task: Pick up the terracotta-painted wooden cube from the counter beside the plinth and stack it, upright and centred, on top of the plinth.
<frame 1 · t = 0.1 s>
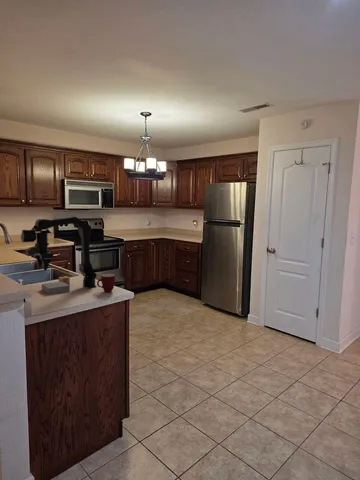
hand: (42, 268, 177), 15 cm above the countertop, tool pointing down, fingers open, 9 cm apart
mug: (106, 292, 188), on the countertop
plinth: (55, 290, 187), on the countertop
cube: (64, 285, 200), on the countertop
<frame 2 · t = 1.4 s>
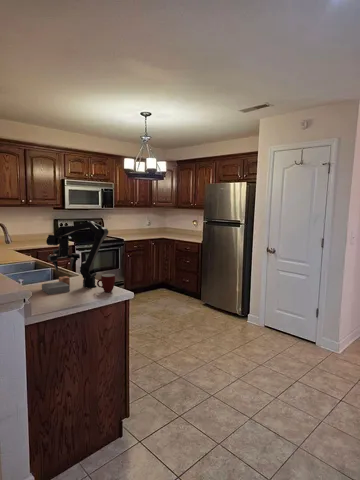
hand: (64, 270, 199), 9 cm above the countertop, tool pointing down, fingers open, 9 cm apart
nothing on the countertop moved.
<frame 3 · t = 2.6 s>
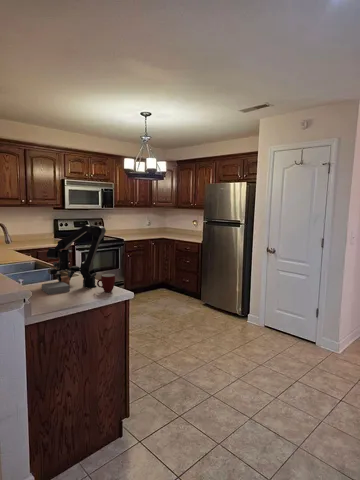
hand: (64, 283, 200), 1 cm above the countertop, tool pointing down, fingers closed on cube, 5 cm apart
cube: (64, 284, 200), on the countertop, touching gripper
everything else where it was.
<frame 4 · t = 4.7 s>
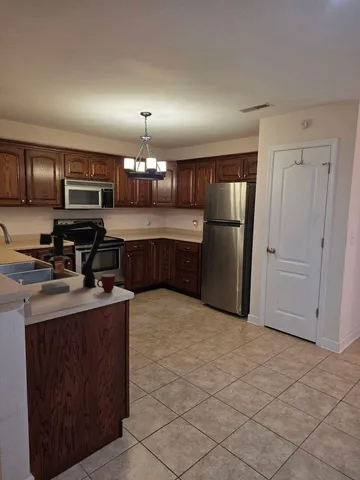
hand: (58, 270, 191), 11 cm above the countertop, tool pointing down, fingers closed on cube, 5 cm apart
cube: (58, 272, 191), point 10 cm above the countertop, touching gripper
everything else where it was.
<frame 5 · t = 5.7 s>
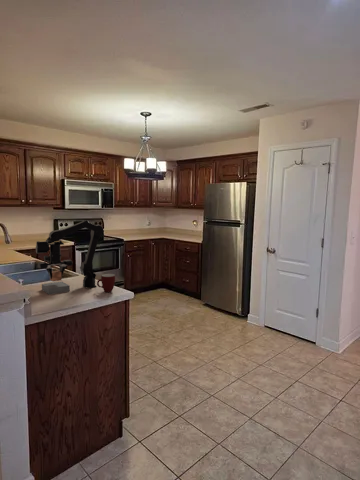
hand: (55, 278, 186), 7 cm above the countertop, tool pointing down, fingers closed on cube, 5 cm apart
cube: (55, 280, 186), point 6 cm above the countertop, touching gripper
everything else where it was.
when the fingers open (6 cm above the countertop, at t = 6.6 s): cube drops 2 cm, resting on plinth.
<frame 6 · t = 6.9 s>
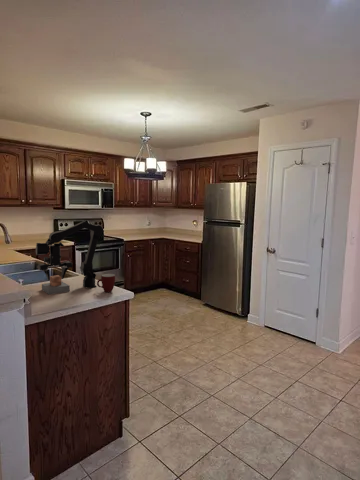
hand: (55, 279, 186), 6 cm above the countertop, tool pointing down, fingers open, 8 cm apart
cube: (55, 284, 186), point 3 cm above the countertop, touching plinth
everything else where it was.
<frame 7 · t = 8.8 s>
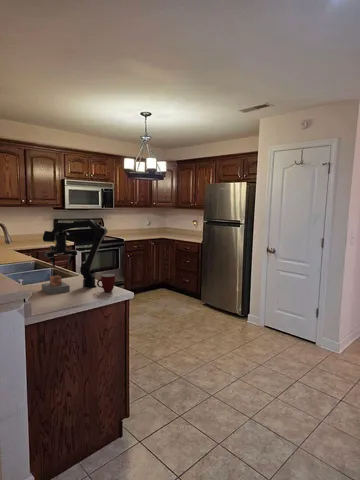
hand: (61, 267, 196), 12 cm above the countertop, tool pointing down, fingers open, 9 cm apart
nothing on the countertop moved.
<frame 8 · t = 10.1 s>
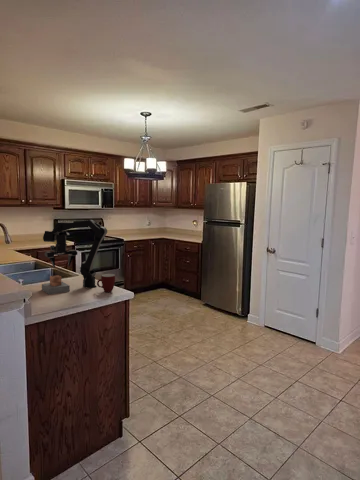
hand: (61, 266, 197), 12 cm above the countertop, tool pointing down, fingers open, 9 cm apart
nothing on the countertop moved.
at the end: cube 0.1 cm off-centre on the plinth, point 3.5 cm above the plinth's base; cube tilted 0°; the gripper is holding nothing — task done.
